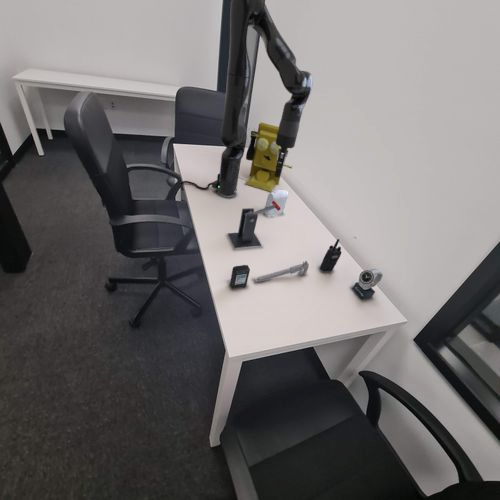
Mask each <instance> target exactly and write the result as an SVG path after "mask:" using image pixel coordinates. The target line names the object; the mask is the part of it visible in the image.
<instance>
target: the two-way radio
mask: <svg viewBox="0 0 500 500" xmlns="http://www.w3.org/2000/svg"><path fill="white" fill-rule="evenodd" d="M339 242H340V239H339V238H337V239H336V241H335V243H334V245H330V246H329V247H328V249H327V251H326V252H325V254H324V256H323V259H322V262H321V264H320V267H319V269H320V271H321V272H323V273H329V272H330V273H331V272H333V270H334V268H335V266H336V265H337V263H338V261H339V260H340V257H341V255H342V251H341V250H342V247H341V246H338V245H339Z"/></svg>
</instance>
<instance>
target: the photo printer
mask: <svg viewBox="0 0 500 500" xmlns="http://www.w3.org/2000/svg"><path fill="white" fill-rule="evenodd" d="M288 198H289V193H288V191H287V190H284V189H277V190H272V191H271V192H269V193H268V195H267V198H266V202H265V205H264V208H266V207H269V206H271V205H273V204H272V201H275V202H276V203H277V204H278V206H279V207H280V208H281V209H280V210H279V211H278V210H277V209H276V208H274V209H271V210H269V211H266V212H264V215H266V216H268V217H272V216H277V215H281V214H283V213H284V210H285V207H286V204H287V200H288Z"/></svg>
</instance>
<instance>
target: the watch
mask: <svg viewBox="0 0 500 500" xmlns="http://www.w3.org/2000/svg"><path fill="white" fill-rule="evenodd" d="M358 276H359V277H358V280H357V282H355V283H354V285H353V286H352V290H353V291H354V293H355V294H356V295H357V296H358V297H359V298H360V299H361V301H364V300H368V299H372V297H373V296H375V293H376V290H374V289H373V288H374V287H376V286H377V285H378V284H379V282H381V281H382V278H383V277H384V274H383V273H382V272H381V271H380V270H379V268H369V269H365V270H363V271H361V272H360V273H359V275H358Z"/></svg>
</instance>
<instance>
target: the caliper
mask: <svg viewBox="0 0 500 500" xmlns="http://www.w3.org/2000/svg"><path fill="white" fill-rule="evenodd" d="M308 270H309V262H308V260H305V261H302V263H299V264H296V265H293V266H290V267H289V268H286V269H285V268H284V269H283V270H282V269H281V270H278V271H275V272H272V273H268V274H265V275H262V276H258V277H257V278H255V279H253V280H254V283H260V282H264V281H268V280H272V279H274V278H275V279H276V278H278V277H281V276H284V275H288V274H290V275H292V274H296V273H299V275H300V276H303V275H302V274H304V275H306V274H307V273H308Z"/></svg>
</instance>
